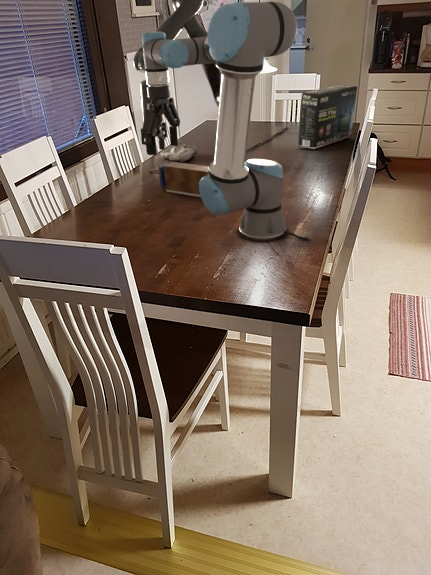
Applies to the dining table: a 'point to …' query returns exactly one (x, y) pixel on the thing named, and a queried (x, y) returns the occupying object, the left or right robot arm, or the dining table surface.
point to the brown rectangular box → (184, 178)
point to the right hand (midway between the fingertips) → (164, 150)
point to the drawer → (162, 175)
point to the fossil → (179, 153)
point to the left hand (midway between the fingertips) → (156, 152)
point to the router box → (326, 115)
